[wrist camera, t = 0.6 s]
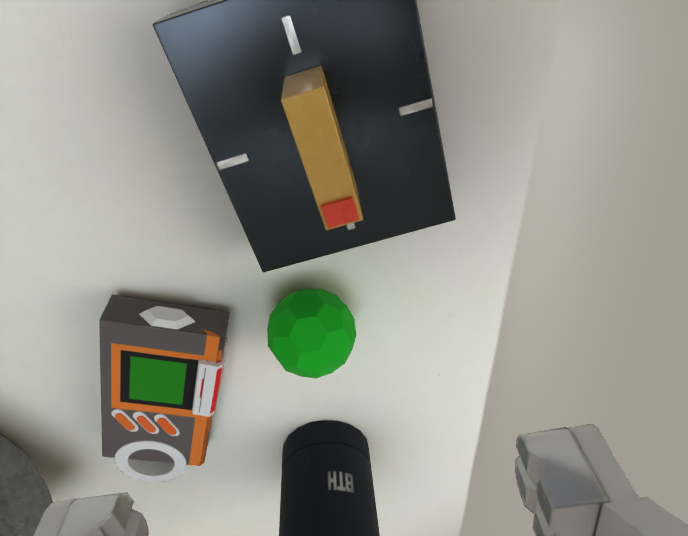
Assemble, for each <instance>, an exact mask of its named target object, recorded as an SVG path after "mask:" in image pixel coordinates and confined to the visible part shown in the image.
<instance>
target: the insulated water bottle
mask: <svg viewBox="0 0 688 536" xmlns="http://www.w3.org/2000/svg"><path fill="white" fill-rule="evenodd" d="M279 536H380V535H379V527H378V519H377V511H376V503H375V495H374V487H373V479H372V471H371V463H370V455H369V448H368V443H367V439H366V438H365V436H364V435H363V434H362V433H361V431H359V430H358V429H356V428H354V427H353V426H351V425H349V424H345V423H341V422H338V421H320V422H315V423H310V424H307V425H305V426H303V427H300V428H298V429H297V430H296V431H294V432H293V433H292V434H290V435H289V437H288V438H287V440H286V441H285V443H284V446H283V456H282V479H281V503H280V526H279Z"/></svg>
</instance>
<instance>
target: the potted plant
mask: <svg viewBox="0 0 688 536" xmlns="http://www.w3.org/2000/svg"><path fill="white" fill-rule="evenodd" d="M52 502H53V501H52V498H51V495H50V492H49V490H48V487H47V485H46V483H45V482H44V480H43V478H42V477H41V475H40V473H39V471H38V470H37V468H36V466H35V465H34V463H33V461H32V459H31V458H30V457H29V456H28V455H27V454H25V453H24V452H23V451H21V450H20V449H19V448H17V447H16V446H15V445H13V444H12V443H11V442H10V441H8V440H7V439H6V438H4V437H3V436H2V435H0V536H33V535H34V533H35V531H36V529H37V527H38V525H39V522H40V520H41V518H42V516H43V514H44V511H45V510H46V509H47V508H48V507H49V506H50V504H51V503H52Z"/></svg>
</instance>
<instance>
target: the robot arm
mask: <svg viewBox="0 0 688 536" xmlns="http://www.w3.org/2000/svg"><path fill="white" fill-rule="evenodd" d="M516 447H517V450H518V452H519V456H518V457H517V458H516V460H515V473H516V480H517V485H518V488H519V492H520V495H521V498H522V500H523V503H524V506H525V507H526V508H528V509H529V510H530V511H531V512H532V513H533V514H534V520H533V529H534V532H535V535H536V536H688V525H687V524H686V523H684V522H683V521H681V520H680V519H678V518H677V517H676V516H674V515H673V514H671V513H670V512H668V511H667V510H665V509H664V508H662V507H661V506H660V505H658V504H657V503H655V502H654V501H652V500H651V499H649V498H648V497H643V498H639V496H638V495H637V493H636V491H635V489H634V488H633V486H632V484H631V483H630V481H629V479H628V478H627V476H626V474H625V473H624V471H623V469H622V468H621V466H620V464H619V462H618V461H617V459H616V457H615V456H614V454H613V452H612V451H611V449H610V447H609V446H608V444H607V442H606V441H605V439H604V437H603V436H602V434H601V433H600V430H599V429H598V428H597V427H596V426H595V425H593V424H587V425H582V426H575V427H570V428H566V427H564V428H558V429H551V430H545V431H539V432H533V433H527V434H521V435H518V437H517V440H516ZM133 503H134V501H133V499H132V498H131V497H130V495H129V494H128V493H119V494H111V495H104V496H96V497H88V498H81V499H71V500H65V501H58V502H52V503H51V504H50V506H49V507H48V508H47V509H46V510H45V511H44V514H43V516H42V518H41V520H40V522H39V525H38V527H37V529H36V531H35V533H34V535H33V536H148V526H147V523H146V520H145V518H144V516H143V515H142V513H140V512H137V511H135V510H133V509H132V506H133Z"/></svg>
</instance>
